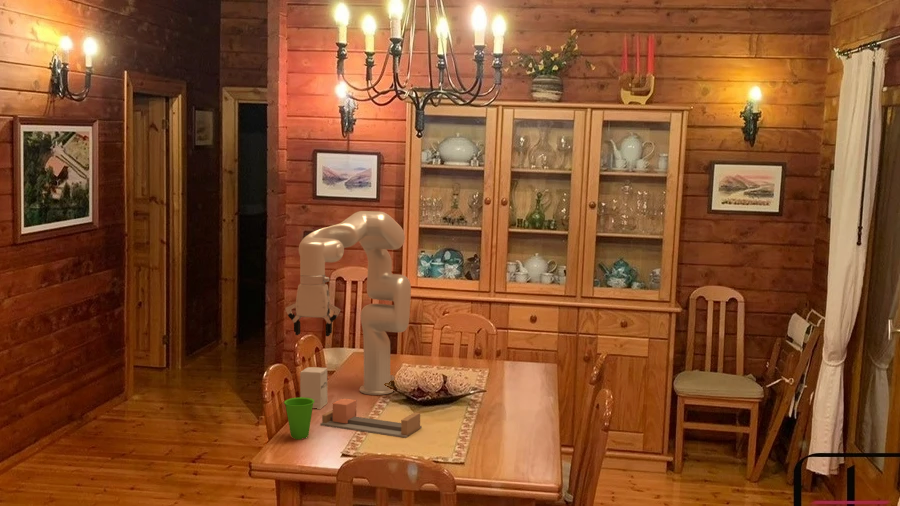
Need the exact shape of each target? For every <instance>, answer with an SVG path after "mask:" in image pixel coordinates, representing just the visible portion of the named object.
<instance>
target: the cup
mask: <svg viewBox="0 0 900 506" xmlns="http://www.w3.org/2000/svg"><path fill="white" fill-rule="evenodd" d="M314 402H315V401H314V400H313V399H311V398H305V397H300V396H299V397H298V396H297V397H291V398H288V399H286V400H284V401H283V404H284V405H285V410H286V415H287V421H288V427H289V433H290V437H291V438H292V437H293V438H295V439H294V440H303V439H302V438H305V439H307V438H308V437H309V435H310V430H311V429H310V428H311V422H312V421H311V420H312V414H313V409H312V408H313V403H314ZM306 437H307V438H306ZM293 438H292V439H293Z"/></svg>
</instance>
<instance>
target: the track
mask: <svg viewBox="0 0 900 506" xmlns="http://www.w3.org/2000/svg"><path fill="white" fill-rule="evenodd" d="M321 419H322V420H321V423H320V426H322V425H325V426H324V427H329V426H331V427H330V428H336V427H337V429H344V430H350V431H356V430H359V431H358V432H363V431H365V432H366V433H371V434H378V435H384V436H390V437H397V438H403V437H404V439H406V438H408V437H409V436H411V435H413V434H414V433H416V432H418V431H419V430H421V429H422V425H421V412H416V411H414V412H412V413H410V414H409V415H407V416H405V417H404V418H402V419H401V421H400V422H398V421H397V422H396V421H391V420H390V421H389V420H383V419H375V418H369V417H361V416H356V417H355V416H354V417H352V418H351V419H349V420H348V423H347V424H346V423H339V422H333V409H331V410H329V411H328V412H325V413H323V414H322V417H321ZM365 432H364V433H365Z"/></svg>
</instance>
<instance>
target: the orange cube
mask: <svg viewBox="0 0 900 506" xmlns="http://www.w3.org/2000/svg"><path fill="white" fill-rule="evenodd" d="M332 410H333V422H339V423H346V424H347V423H348V420H349V419H351V418H352V417H354V416H355V417H357V400H356V399H350V398H349V399H348V398H344V397H343V398H340V399H339V400H337V401H335V402H332Z"/></svg>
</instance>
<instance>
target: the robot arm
mask: <svg viewBox="0 0 900 506" xmlns="http://www.w3.org/2000/svg"><path fill="white" fill-rule="evenodd" d="M405 237H406V236H405V231H404V229H403V228H402V226H401V225H400V224H399V223H398V222H397V221H396V220H395V219H394V218H393V217H392V216H391V215H389V214H388V213H386V212H384V211H374V210H373V211H372V210H371V211H370V210H369V211H368V210H360V211H356V212H354V213H353V214H351V215H350V216H347V218H346V219H344V220H343V221H341V222H340V223H337V224H332V225H330V226H327V227H326V226H325V227H323V228H319V229H316V230H313V231H312V232H310V233H309V234H307V235H306V236H304V237H303V238H302V240H301V241H300V243H299V245H298V255H299V256H300V257H299V258H300V259H299V261H300V263H299V265H300V267H299V268H300V269H299V270H300V272H299V273H300V274H299V276H300V281H299V284H298V286H297V290H296V298H295V299H296V300H295V303H292V304H290V305H289V306H287V307H285V308H284V310H285V312H286V314H287V315H288V318H289V320H291V321H292V322H293V332H294V333H295V336H299V335H300V334H301V321H300V319H301V318H323V319H324V320H325V322H326V323H325V337H329V336H330V335H331V334H332V332H333V322H334V321H335V320H336V319H337V318H338V316H339V314H340V312H341V308H339V307H337V306H335V305H334V304H331V298H330V290H329V286H328V284H326V283H327V282H330V277H328V276H326V263H336V262H338V261H340V260H341V259H342V258H343V255H344V253H345V249H346V248H351V247H353V246H355V245H356V244H357V243H359V244H360V246H361V247H362V249H363V251H364V253H365V254H366V257H367V278H366V293H367V296H368V298H370V299H372V300H376V301H377V300H378V301H388V302H390V301H391V302H393V304H386V303H369V304H367V305H365V306H363V308H362V309H361V311H360V323H361V328H362V335H363V385H360V387H359V392H360V393H361V394H365V395H372V396H379V395H380V396H383V395H387V394H391V393H393V389H389V388H388V387H387V386H385V385H384V384H385V383H389V382H390V381H391V382H392V381H394V380H395V375H394V374H391V340H390V338H389V335H388V334H387V332H390V333H403V332H405V331H406V330H407V329H408V327H409V325H410V324H409V323H410V318H411V317H410V316H411V315H410V314H411V313H410V312H411V297H412V285H411V282H410V280H409V278H408V277H407V276H406V275H404V274H396V273H393V272H392V267H393V260H392V256H391V255H390V253H389V250H399V249H400V248H401V247H402V246H403V245H404V243H405V239H406V238H405ZM293 309H295V313H293V311H292V310H293ZM331 311H333V315H330V314H331ZM391 382H390V383H391Z"/></svg>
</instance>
